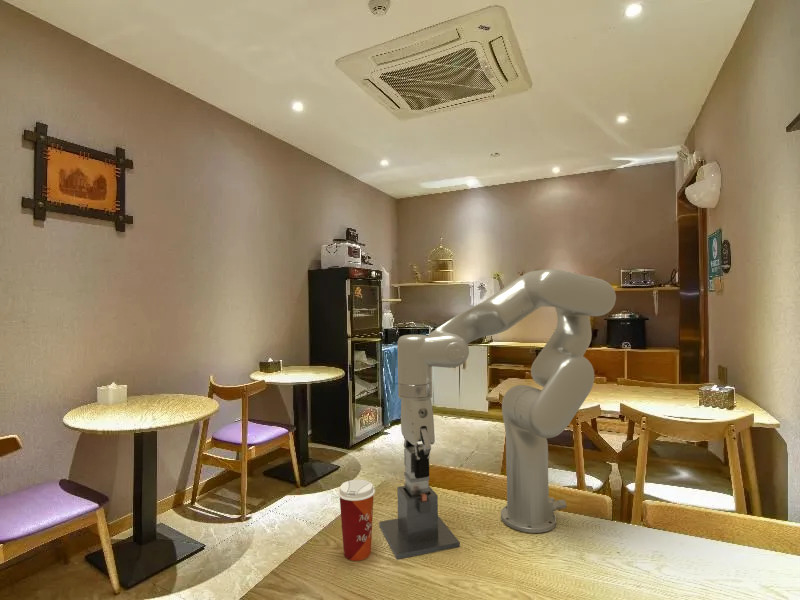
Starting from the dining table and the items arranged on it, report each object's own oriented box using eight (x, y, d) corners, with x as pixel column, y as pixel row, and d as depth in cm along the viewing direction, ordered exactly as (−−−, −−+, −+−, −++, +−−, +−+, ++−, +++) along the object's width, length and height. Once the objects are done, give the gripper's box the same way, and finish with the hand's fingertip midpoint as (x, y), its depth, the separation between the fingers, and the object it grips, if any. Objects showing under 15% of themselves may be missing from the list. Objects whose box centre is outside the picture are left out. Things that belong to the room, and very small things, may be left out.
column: (423, 523, 100) (422, 445, 100) (430, 533, 96) (429, 451, 96) (405, 526, 99) (403, 447, 99) (411, 536, 95) (410, 453, 95)
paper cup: (370, 566, 87) (369, 495, 87) (333, 562, 88) (332, 492, 88) (380, 544, 94) (379, 479, 94) (346, 541, 96) (345, 477, 96)
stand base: (435, 516, 106) (434, 470, 106) (459, 546, 93) (459, 494, 93) (379, 526, 102) (378, 478, 102) (396, 559, 89) (395, 505, 89)
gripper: (446, 397, 90) (447, 484, 90) (417, 382, 107) (419, 456, 107) (411, 400, 88) (413, 489, 88) (388, 384, 105) (389, 460, 104)
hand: (416, 470), depth 97 cm, fingers open, 6 cm apart
